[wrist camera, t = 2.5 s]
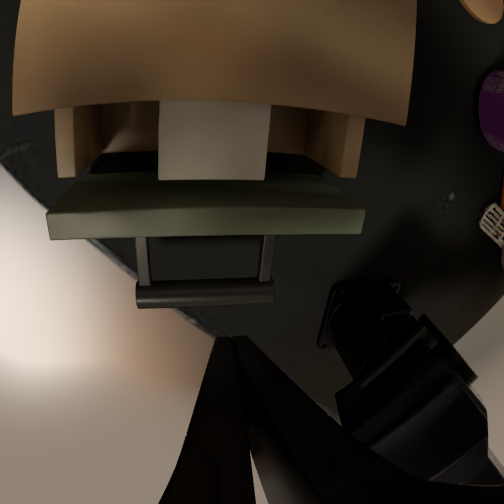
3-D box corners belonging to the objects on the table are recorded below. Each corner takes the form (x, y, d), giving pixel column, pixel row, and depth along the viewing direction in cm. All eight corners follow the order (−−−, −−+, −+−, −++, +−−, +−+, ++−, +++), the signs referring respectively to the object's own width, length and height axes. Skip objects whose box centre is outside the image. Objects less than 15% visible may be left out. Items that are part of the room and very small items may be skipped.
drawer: (302, 264, 21) (338, 319, 16) (94, 270, 18) (73, 333, 14) (336, -7, 13) (393, -31, 8) (91, -21, 10) (57, -60, 5)
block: (243, 156, 16) (264, 180, 12) (164, 156, 15) (158, 180, 11) (249, 80, 14) (274, 77, 10) (166, 77, 13) (161, 71, 10)
